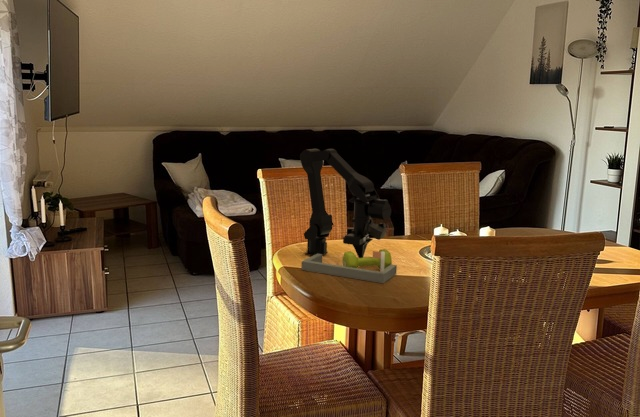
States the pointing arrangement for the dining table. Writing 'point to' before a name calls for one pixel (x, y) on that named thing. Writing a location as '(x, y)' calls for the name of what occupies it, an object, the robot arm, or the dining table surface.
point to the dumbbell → (365, 260)
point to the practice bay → (350, 269)
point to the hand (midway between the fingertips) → (360, 258)
